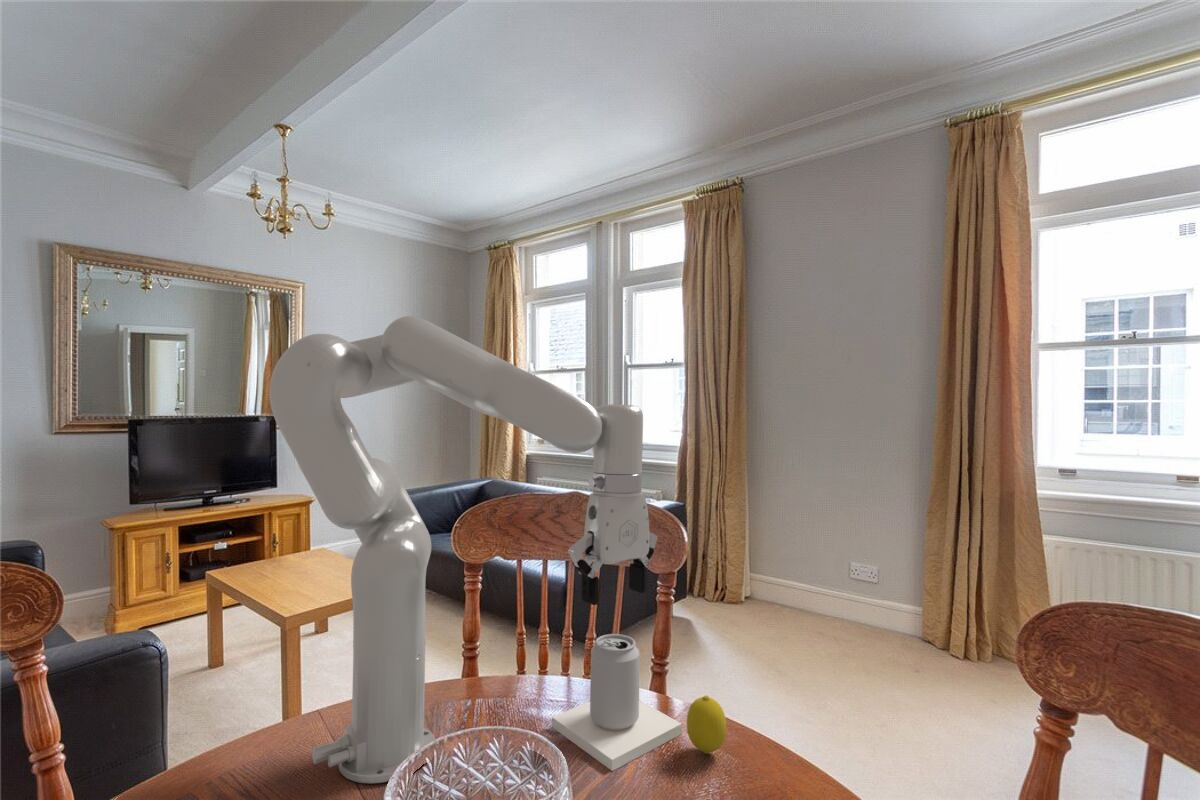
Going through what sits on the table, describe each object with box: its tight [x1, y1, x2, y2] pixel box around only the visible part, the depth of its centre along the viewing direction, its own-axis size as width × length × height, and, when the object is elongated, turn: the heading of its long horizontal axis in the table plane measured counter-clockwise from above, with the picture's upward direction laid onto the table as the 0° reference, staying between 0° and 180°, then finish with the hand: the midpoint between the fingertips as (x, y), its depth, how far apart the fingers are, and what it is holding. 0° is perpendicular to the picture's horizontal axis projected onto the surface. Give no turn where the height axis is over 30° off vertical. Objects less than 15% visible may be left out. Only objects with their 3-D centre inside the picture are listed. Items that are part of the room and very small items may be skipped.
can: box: [589, 633, 641, 731], centre depth 85 cm, size 8×8×12 cm
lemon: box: [686, 695, 727, 755], centre depth 80 cm, size 6×6×8 cm
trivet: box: [551, 699, 683, 772], centre depth 85 cm, size 14×14×2 cm
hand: (614, 596), depth 86 cm, fingers open, 9 cm apart
